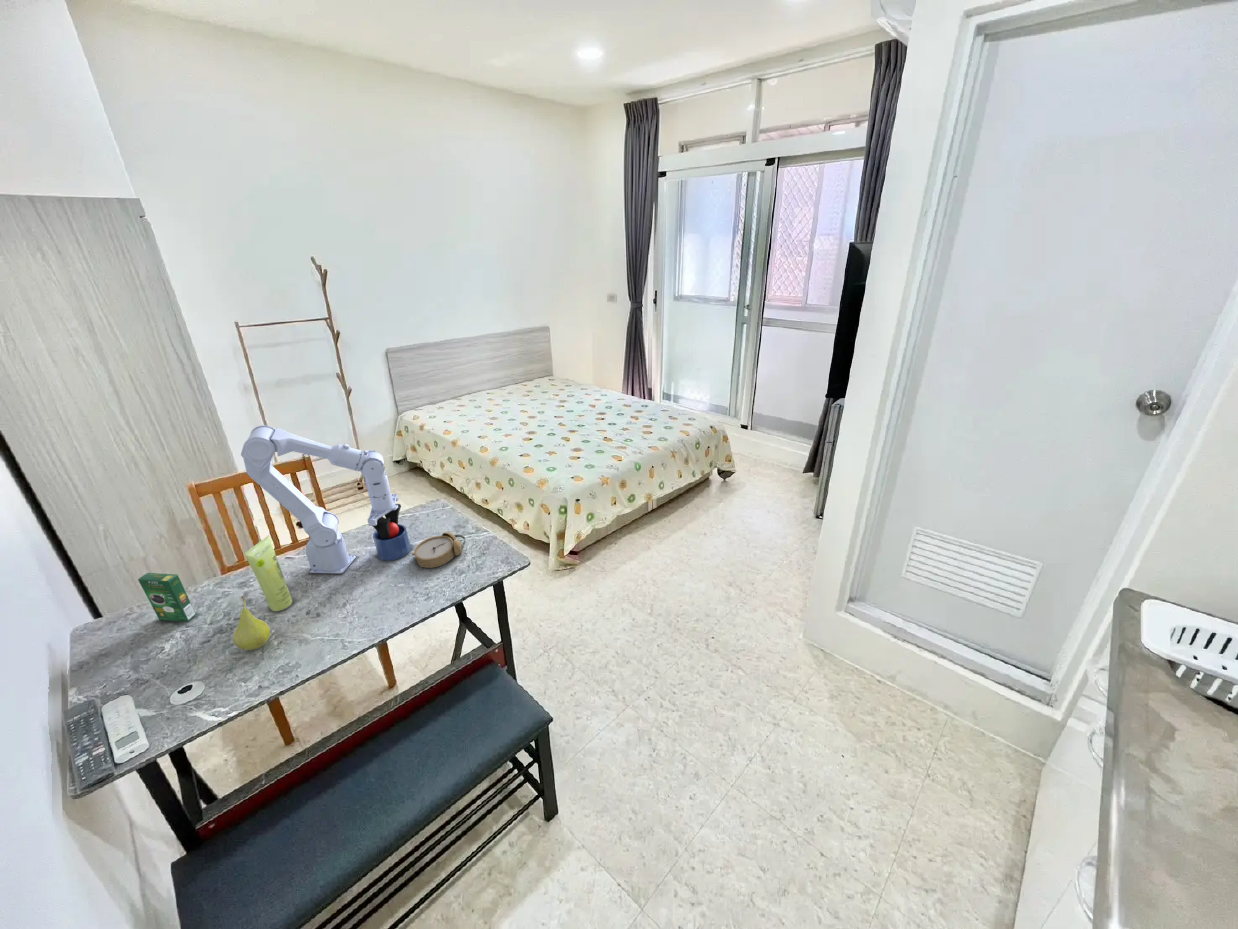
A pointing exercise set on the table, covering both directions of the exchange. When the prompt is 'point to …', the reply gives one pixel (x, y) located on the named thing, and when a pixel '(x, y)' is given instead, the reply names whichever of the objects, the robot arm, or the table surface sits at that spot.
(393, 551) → the cup
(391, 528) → the tomato
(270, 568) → the tube
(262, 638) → the fruit
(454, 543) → the alarm clock
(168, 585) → the coffee box
